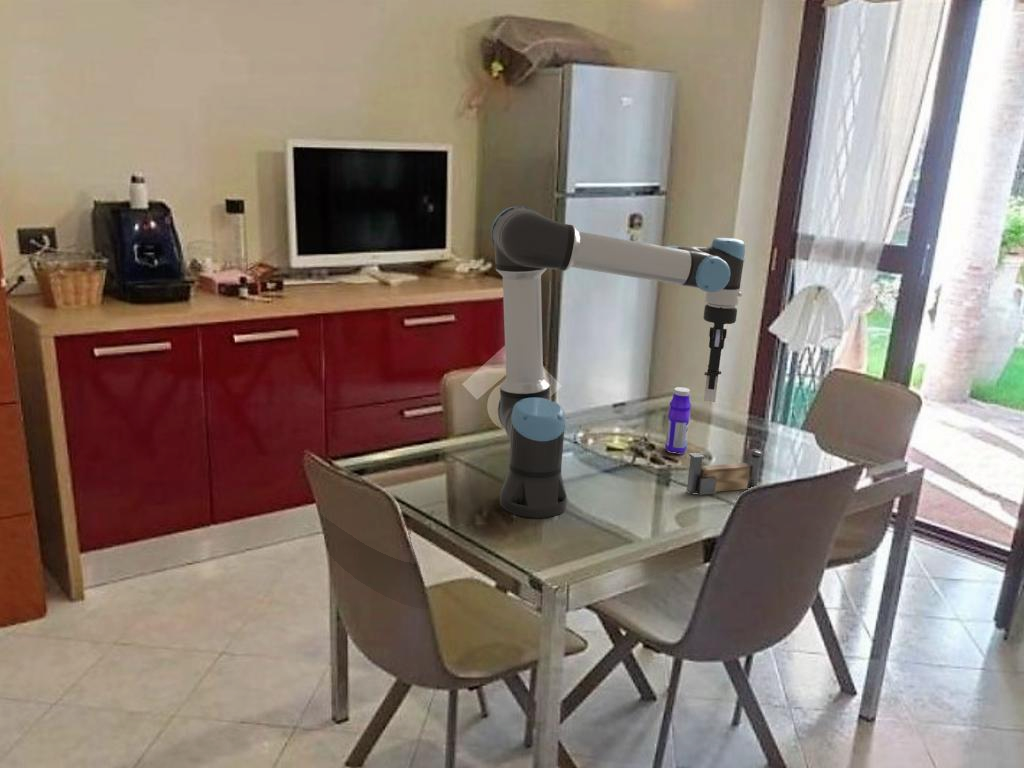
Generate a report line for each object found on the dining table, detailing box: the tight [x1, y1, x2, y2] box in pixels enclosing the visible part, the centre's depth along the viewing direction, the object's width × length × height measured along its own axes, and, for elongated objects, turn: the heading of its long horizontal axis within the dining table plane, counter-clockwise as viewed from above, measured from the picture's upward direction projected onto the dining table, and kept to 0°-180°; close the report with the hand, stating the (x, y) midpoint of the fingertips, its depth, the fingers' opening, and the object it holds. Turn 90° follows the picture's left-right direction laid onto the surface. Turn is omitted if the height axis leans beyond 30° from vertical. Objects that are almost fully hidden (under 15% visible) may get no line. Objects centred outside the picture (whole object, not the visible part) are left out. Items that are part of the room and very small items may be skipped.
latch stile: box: [686, 452, 717, 496], centre depth 211 cm, size 6×4×10 cm
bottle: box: [664, 386, 692, 454], centre depth 237 cm, size 7×6×17 cm
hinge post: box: [747, 448, 764, 488], centre depth 216 cm, size 3×3×10 cm
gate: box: [700, 462, 750, 493], centre depth 213 cm, size 13×2×6 cm, turn 109°
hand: (709, 400), depth 216 cm, fingers closed
